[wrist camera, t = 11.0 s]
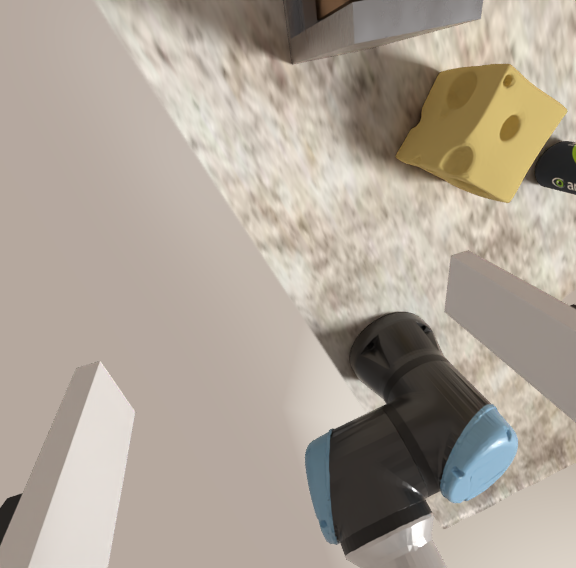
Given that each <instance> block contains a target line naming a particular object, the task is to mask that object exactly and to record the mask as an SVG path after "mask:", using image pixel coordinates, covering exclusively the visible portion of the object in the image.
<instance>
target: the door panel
mask: <svg viewBox="0 0 576 568" xmlns="http://www.w3.org/2000/svg"><path fill="white" fill-rule="evenodd" d="M357 1H363V0H315V4H316V14H317V20H322V19H325V18H327V17H329V16H330V15H332V14H334V13H335V12H337V11H339V10H341V9H342V8H344V7H346V6H347V5H349V4H351V3H352V2H357Z"/></svg>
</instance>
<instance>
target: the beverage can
mask: <svg viewBox="0 0 576 568" xmlns="http://www.w3.org/2000/svg"><path fill="white" fill-rule="evenodd" d="M535 176H536V179H537V181H538V183H539V184H540V185H541V186H543V187H547V188H551V189H555V190H559V191H563V192H567V193H571V194H575V195H576V142H569V141H563V142H560V143H557V144H555V145H554V146H552V147H550V148H549V149H547V150H546V151H545V152H544V153H543V155H542V156H541V157H540V159H539V161H538V163H537V165H536V169H535Z"/></svg>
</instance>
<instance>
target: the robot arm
mask: <svg viewBox="0 0 576 568" xmlns="http://www.w3.org/2000/svg"><path fill="white" fill-rule="evenodd" d="M444 312H445V313H447V314H448V315H449V316H450V317H451V318H453V319H454V320H455V321H456V322H457V323H458V324H460V325H461V326H462V327H463V328H464V329H466V330H467V331H468V332H469V333H470V334H471V335H473V336H474V337H475V338H476V339H477V340H479V341H480V342H481V343H482V344H483V345H485V346H486V347H487V348H488V349H489V350H490V351H492V352H493V353H494V354H495V355H496V356H498V357H499V358H500V359H501V360H502V361H503V362H505V363H506V364H507V365H508V366H509V367H511V368H512V369H513V370H514V371H515V372H516V373H518V374H519V375H520V376H521V377H522V378H524V379H525V380H526V381H527V382H528V383H530V384H531V385H532V386H533V387H534V388H535V389H537V390H538V391H539V392H540V393H541V394H543V395H544V396H545V397H546V398H547V399H548V400H550V401H551V402H552V403H553V404H554V405H556V406H557V407H558V408H559V409H560V410H561V411H563V412H564V413H565V414H566V415H567V416H569V417H570V418H571V419H572V420H573V421H575V422H576V305H574V304H573V305H571V306H569V305H567V304H565V303H563V302H562V301H560V300H558V299H556V298H555V297H553V296H551V295H549V294H547V293H545V292H544V291H542V290H540V289H538V288H536V287H535V286H533V285H531V284H529V283H527V282H525V281H524V280H522V279H520V278H518V277H516V276H514V275H513V274H511V273H509V272H507V271H505V270H504V269H502V268H500V267H498V266H496V265H494V264H493V263H491V262H489V261H487V260H485V259H484V258H482V257H480V256H478V255H476V254H474V253H473V252H471V251H469V250H468V251H464V252H461V253H458V254H454V255H451V260H450V268H449V277H448V285H447V294H446V303H445V311H444ZM350 364H351V367H352V369H353V371H354V372H355V374H356V376H357V377H358V378H359V379H360V381H361V382H363V383H364V384H365V385H366V386H368V387H369V388H370V389H371V390H373V391H374V392H375V393H376V394H378V395H379V396H380V397H381V398H383V399H384V401H385V402H386V405H384V406H382V407H379V408H377V409H375V410H373V411H371V412H369V413H367V414H365V415H363V416H361V417H359V418H357V419H355V420H353V421H350V422H348V423H346V424H344V425H342V426H340V427H338V428H336V429H330V430H329V432H328V433H326V434H324V435H322V436H320V437H319V438H317V439H315V440H313V441H312V442H311V443H310V444H309V445H308V447H307V449H306V454H305V466H306V474H307V479H308V485H309V490H310V494H311V499H312V502H313V506H314V509H315V513H316V516H317V518H318V519H319V523H320V527H321V531H322V533H323V535H324V537H325V539H326V541H327V542H329V543H330V544H336V545H337V544H339V543H341V546H342V549H343V551H344V554H345V557H346V559H347V560H348V561H350V562H352V563H353V564H355V565H357V566H359V567H360V568H447V567H446V565H445V563H444V561H443V559H442V557H441V555H440V553H439V551H438V550H437V548H436V546H435V544H434V542H433V540H432V526H433V519H434V515H433V513H432V511H431V509H430V508H429V506H428V504H427V502H426V500H425V499H426V498H427V497H429V496H431V495H433V494H435V493H437V492H440V491H441V493H442V495H443V496H444V497H445V498H447V499H448V500H449V501H450V502H453V503H461V502H462V501H468V500H470V499H472V498H474V497H476V496H477V495H479V494H480V493H482V492H483V491H485V490H486V489H487V488H489V487H490V486H491V485H492V484H493V483H494V482H495V481H496V480H498V479H499V478H500V476H501V475H502V474H503V473H504V472H505V471H506V470H507V468H508V467H509V465H510V464H511V462H512V461H513V459H514V457H515V455H516V452H517V448H518V439H517V435H516V433H515V431H514V430H513V428H512V427H511V426H510V425H509V424H508V423H507V421H506V420H505V419H504V418H503V417H502V416H501V415H500V413H499V412H498V411H497V408H496V407H495V406H494V405H493V404H491V403H490V402H489V401H488V400H487V399H486V398H485V397H484V396H483V395H482V394H481V393H480V392H479V391H478V390H477V389H476V388H475V387H474V386H473V385H472V384H471V383H470V382H469V381H468V380H467V379H466V378H465V377H464V376H463V375H462V374H461V373H460V372H459V371H458V370H457V369H456V368H455V367H454V366H453V365H452V364H451V363H450V362H449V361H448V360H447V359H446V358H445V357H444V355H443V353H442V351H441V349H440V347H439V344H438V342H437V340H436V338H435V336H434V333H433V331H432V330H431V328H430V327H429V326H428V325H427V324H426V323H425V322H424V321H423V320H422V319H421V318H420V317H419V316H417V315H415V314H412V313H406V312H400V313H394V314H390V315H387V316H384V317H382V318H380V319H378V320H376V321H375V322H373V323H372V324H370V325H369V326H368V327H367V328H365V329H364V330H363V331H362V332H361V334H360V335H359V336H358V337H357V339H356V340H355V342H354V344H353V346H352V349H351V352H350ZM134 417H135V411H134V409H133V408H132V406H131V405H130V403H129V402H128V400H127V399H126V398H125V396H124V395H123V393H122V392H121V390H120V389H119V387H118V386H117V385H116V383H115V382H114V380H113V379H112V377H111V376H110V374H109V373H108V372H107V370H106V369H105V367H104V366H103V365H102V363H101V362H100V361H98V362H95V363H91V364H88V365H85V366H81V367H78V368H76V370H75V372H74V374H73V377H72V379H71V382H70V384H69V386H68V388H67V391H66V393H65V395H64V398H63V400H62V403H61V405H60V407H59V410H58V412H57V414H56V416H55V419H54V421H53V424H52V426H51V428H50V431H49V433H48V436H47V438H46V440H45V442H44V445H43V447H42V449H41V452H40V454H39V456H38V459H37V461H36V463H35V466H34V468H33V470H32V473H31V475H30V478H29V480H28V482H27V484H26V487H25V489H24V491H23V493H22V494H19V495H16V496H13V497H10V498H7V500H6V501H5V502H4V504H3V505H2V506H1V508H0V568H108V563H109V557H110V551H111V546H112V540H113V535H114V528H115V524H116V518H117V512H118V506H119V501H120V496H121V489H122V484H123V478H124V473H125V467H126V462H127V456H128V451H129V445H130V439H131V433H132V428H133V423H134ZM339 541H340V542H339Z"/></svg>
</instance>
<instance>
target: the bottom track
mask: <svg viewBox="0 0 576 568" xmlns="http://www.w3.org/2000/svg"><path fill="white" fill-rule="evenodd" d="M283 2H284V9H285V17H286V24H287V31H288V38H289V45H290V53H291V60H292V64H297V63H302V62H307V61H312V60H317V59H322V58H327V57H332V56H337V55H342V54H347V53H352V52H356V51H361V50H366V49H371V48H376V47H379V46H383V45H387V44H390V43H394V42H397V41H401V40H405V39H408V38H412V37H416V36H419V35H423V34H427V33H430V32H434V31H438V30H441V29H445V28H449V27H452V26H456V25H460V24H463V23H467V22H471V21H474V20H478V19H481V13H482V4H483V0H363V1H357V2H352V3H351V4H349V5H347V6H346V7H344V8H342V9H341V10H339V11H337V12H335V13H334V14H332V15H330V16H329V17H327V18H325V19H322V20H317V14H316V4H315V0H283Z"/></svg>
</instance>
